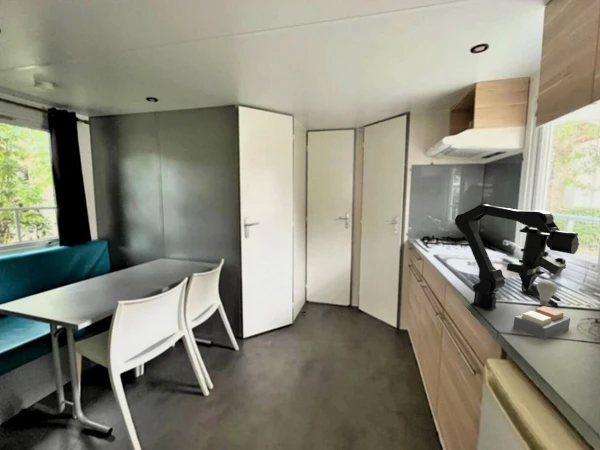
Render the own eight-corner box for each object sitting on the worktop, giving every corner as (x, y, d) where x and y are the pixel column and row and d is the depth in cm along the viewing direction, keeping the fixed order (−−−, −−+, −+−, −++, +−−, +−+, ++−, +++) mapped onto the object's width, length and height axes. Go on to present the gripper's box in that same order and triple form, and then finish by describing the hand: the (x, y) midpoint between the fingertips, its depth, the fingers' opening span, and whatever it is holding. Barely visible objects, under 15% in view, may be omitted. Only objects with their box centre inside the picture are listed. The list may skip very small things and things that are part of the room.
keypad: (513, 327, 96) (514, 316, 96) (538, 317, 104) (540, 307, 104) (543, 340, 89) (545, 328, 88) (568, 329, 97) (570, 318, 96)
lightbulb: (550, 310, 111) (555, 284, 109) (531, 304, 116) (535, 279, 114) (555, 307, 114) (560, 281, 112) (536, 301, 119) (541, 277, 117)
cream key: (520, 325, 96) (522, 313, 95) (529, 322, 98) (531, 310, 97) (540, 333, 91) (542, 320, 90) (549, 330, 93) (551, 317, 93)
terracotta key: (534, 320, 99) (536, 308, 99) (542, 317, 102) (543, 305, 101) (553, 327, 94) (555, 315, 94) (561, 324, 97) (563, 312, 96)
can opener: (515, 290, 132) (517, 279, 132) (530, 290, 133) (531, 279, 132) (549, 307, 115) (551, 294, 114) (565, 307, 115) (568, 294, 114)
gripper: (549, 255, 86) (539, 302, 89) (577, 250, 94) (568, 294, 97) (509, 246, 96) (502, 289, 99) (538, 243, 104) (531, 283, 107)
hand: (526, 289), depth 100 cm, fingers closed
